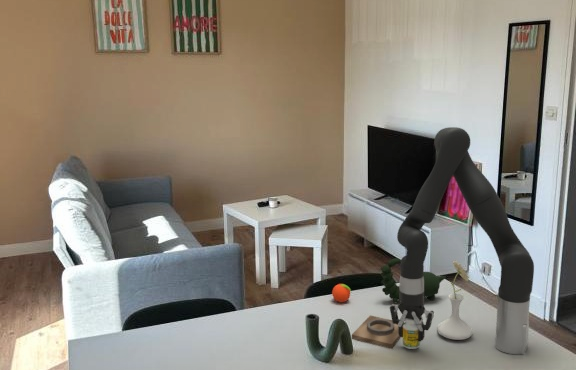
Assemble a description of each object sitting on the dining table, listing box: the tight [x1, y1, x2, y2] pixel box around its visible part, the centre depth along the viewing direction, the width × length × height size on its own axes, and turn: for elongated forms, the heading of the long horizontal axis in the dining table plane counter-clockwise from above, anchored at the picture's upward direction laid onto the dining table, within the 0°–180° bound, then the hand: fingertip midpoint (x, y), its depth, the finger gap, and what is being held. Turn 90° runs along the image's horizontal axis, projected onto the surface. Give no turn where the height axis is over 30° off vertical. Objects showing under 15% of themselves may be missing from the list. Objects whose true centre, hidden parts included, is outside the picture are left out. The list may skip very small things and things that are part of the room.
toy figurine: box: [380, 257, 447, 304], centre depth 213 cm, size 9×19×25 cm
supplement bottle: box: [402, 318, 421, 350], centre depth 179 cm, size 5×5×10 cm
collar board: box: [351, 315, 401, 349], centre depth 190 cm, size 14×16×3 cm
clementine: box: [331, 283, 352, 303], centre depth 215 cm, size 8×7×7 cm
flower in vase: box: [436, 260, 473, 341], centre depth 186 cm, size 13×11×25 cm
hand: (411, 338), depth 179 cm, fingers closed on supplement bottle, 5 cm apart
